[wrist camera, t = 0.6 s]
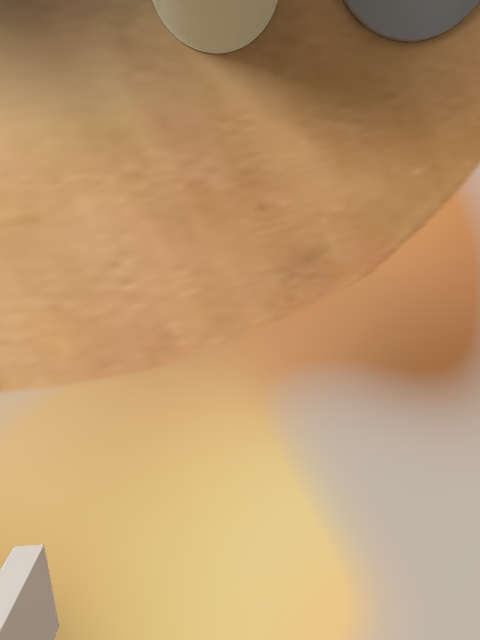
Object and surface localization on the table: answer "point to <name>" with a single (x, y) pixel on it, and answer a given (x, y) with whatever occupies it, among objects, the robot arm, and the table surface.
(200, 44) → the can
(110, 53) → the table surface
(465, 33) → the table surface
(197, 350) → the table surface
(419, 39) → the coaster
